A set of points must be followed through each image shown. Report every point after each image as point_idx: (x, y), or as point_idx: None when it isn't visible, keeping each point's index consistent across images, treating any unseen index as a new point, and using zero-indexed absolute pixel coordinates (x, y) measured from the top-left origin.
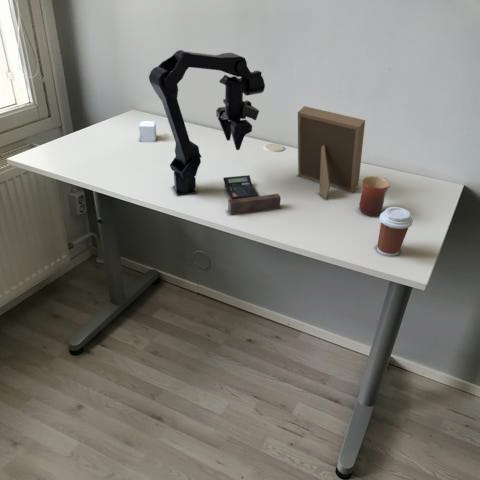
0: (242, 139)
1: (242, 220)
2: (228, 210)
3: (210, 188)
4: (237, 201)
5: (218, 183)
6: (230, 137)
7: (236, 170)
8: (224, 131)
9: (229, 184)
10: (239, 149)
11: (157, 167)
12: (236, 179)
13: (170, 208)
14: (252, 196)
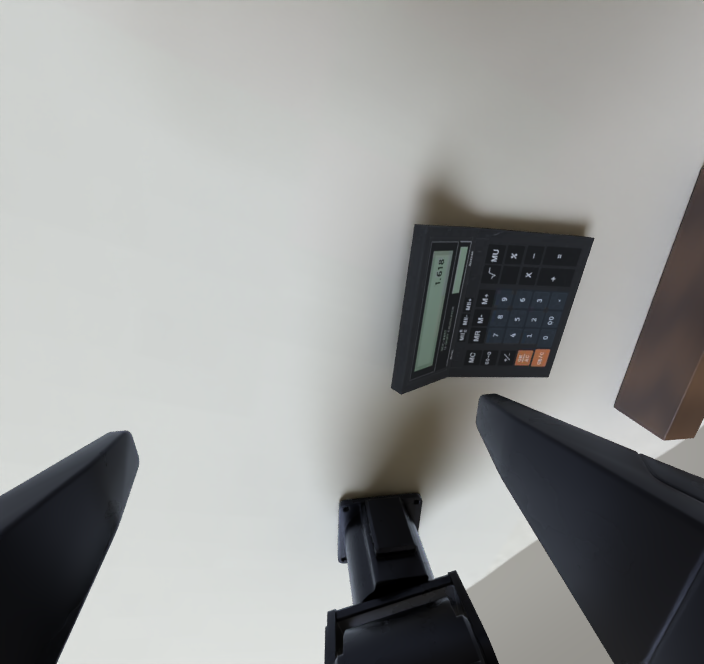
0: (684, 483)
1: None
2: (622, 410)
3: (395, 431)
4: (700, 408)
5: (354, 387)
6: (104, 450)
7: (191, 234)
8: (63, 644)
9: (439, 361)
10: (498, 396)
11: (105, 601)
12: (428, 321)
13: (491, 567)
14: (578, 272)
